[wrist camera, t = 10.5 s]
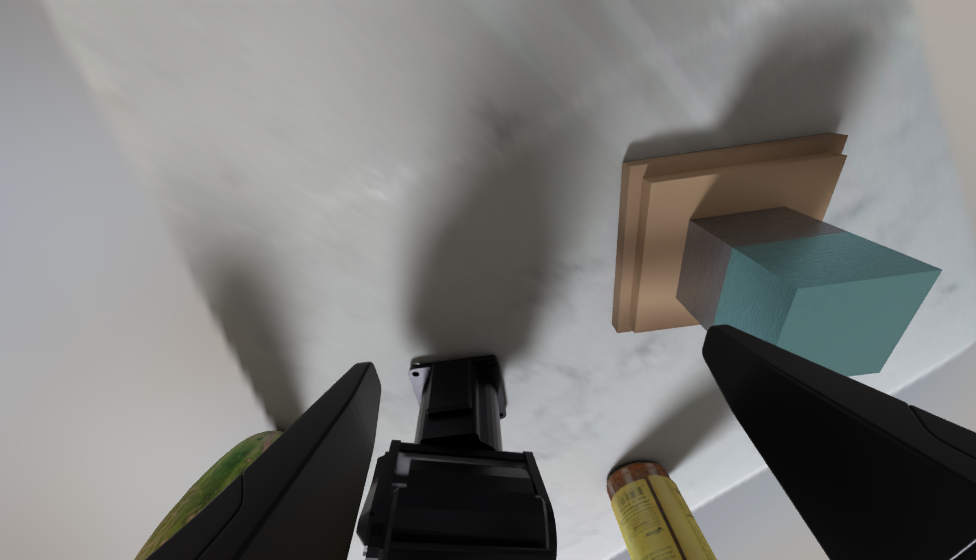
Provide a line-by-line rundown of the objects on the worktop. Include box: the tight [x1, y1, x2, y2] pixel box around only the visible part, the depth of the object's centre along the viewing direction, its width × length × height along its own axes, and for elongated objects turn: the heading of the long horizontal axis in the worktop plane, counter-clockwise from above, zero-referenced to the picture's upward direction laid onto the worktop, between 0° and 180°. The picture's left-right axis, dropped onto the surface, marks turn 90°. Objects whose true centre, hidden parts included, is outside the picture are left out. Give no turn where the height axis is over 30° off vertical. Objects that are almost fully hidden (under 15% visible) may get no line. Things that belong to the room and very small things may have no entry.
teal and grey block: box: [676, 206, 942, 377], centre depth 16 cm, size 5×5×7 cm
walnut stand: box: [612, 133, 848, 333], centre depth 20 cm, size 11×11×2 cm
